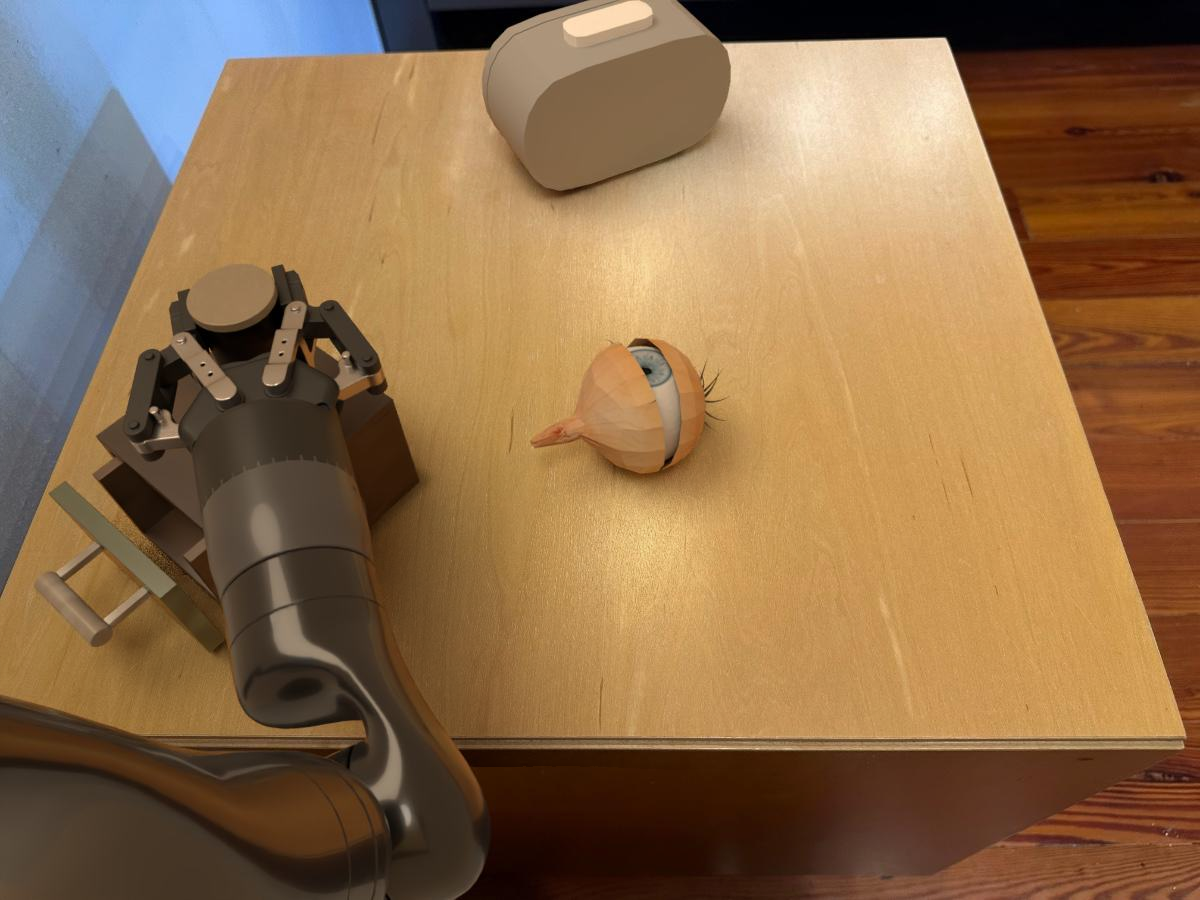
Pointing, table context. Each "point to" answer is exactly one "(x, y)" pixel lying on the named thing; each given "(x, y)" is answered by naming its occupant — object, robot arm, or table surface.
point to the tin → (236, 311)
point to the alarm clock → (604, 88)
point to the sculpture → (637, 407)
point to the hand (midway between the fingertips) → (235, 288)
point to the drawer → (132, 558)
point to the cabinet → (365, 429)
